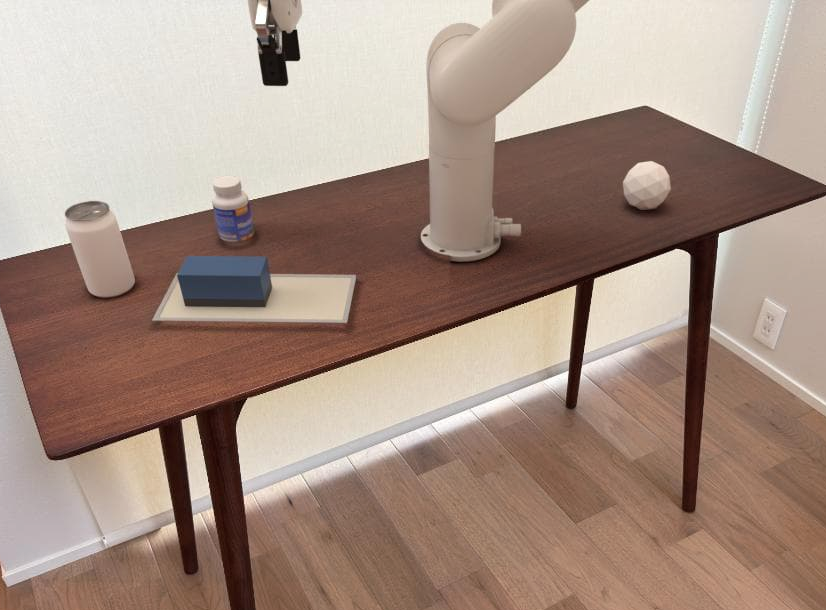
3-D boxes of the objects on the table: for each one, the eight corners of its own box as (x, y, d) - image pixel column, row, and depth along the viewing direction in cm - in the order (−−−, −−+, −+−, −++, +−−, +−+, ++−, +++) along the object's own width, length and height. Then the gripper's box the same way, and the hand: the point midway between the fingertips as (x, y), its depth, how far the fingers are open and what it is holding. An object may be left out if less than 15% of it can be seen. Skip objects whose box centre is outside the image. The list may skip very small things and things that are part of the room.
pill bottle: (247, 250, 121) (236, 191, 114) (214, 246, 121) (201, 187, 115) (261, 233, 125) (251, 175, 118) (229, 229, 125) (217, 171, 119)
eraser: (272, 287, 111) (267, 256, 107) (265, 307, 107) (259, 275, 103) (194, 286, 111) (186, 255, 107) (185, 306, 107) (176, 274, 103)
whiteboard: (357, 282, 114) (356, 274, 113) (347, 330, 105) (347, 322, 104) (178, 280, 114) (176, 272, 113) (154, 328, 105) (151, 320, 104)
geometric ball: (644, 226, 133) (646, 205, 126) (613, 196, 136) (613, 172, 128) (678, 198, 133) (682, 174, 126) (646, 168, 136) (648, 142, 128)
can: (144, 286, 113) (121, 209, 105) (103, 304, 109) (76, 226, 101) (120, 270, 116) (97, 194, 108) (79, 287, 112) (52, 210, 104)
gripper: (281, -61, 87) (300, 96, 98) (305, -89, 100) (319, 52, 111) (213, -62, 87) (240, 95, 98) (246, -90, 100) (266, 51, 111)
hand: (282, 72), depth 104 cm, fingers open, 9 cm apart
